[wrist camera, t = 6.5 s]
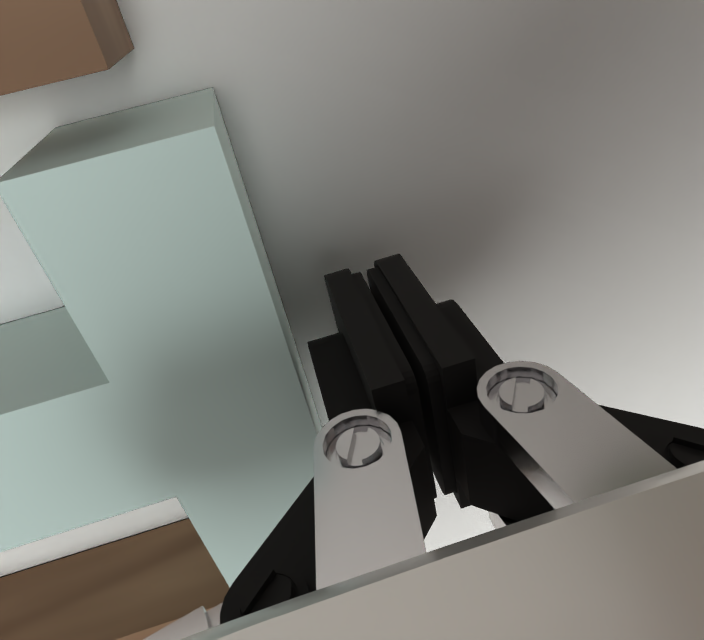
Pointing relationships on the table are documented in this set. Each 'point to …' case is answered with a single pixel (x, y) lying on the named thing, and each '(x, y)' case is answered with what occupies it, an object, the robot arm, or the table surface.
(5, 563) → the table surface
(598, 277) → the table surface
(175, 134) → the tee block
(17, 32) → the corral
